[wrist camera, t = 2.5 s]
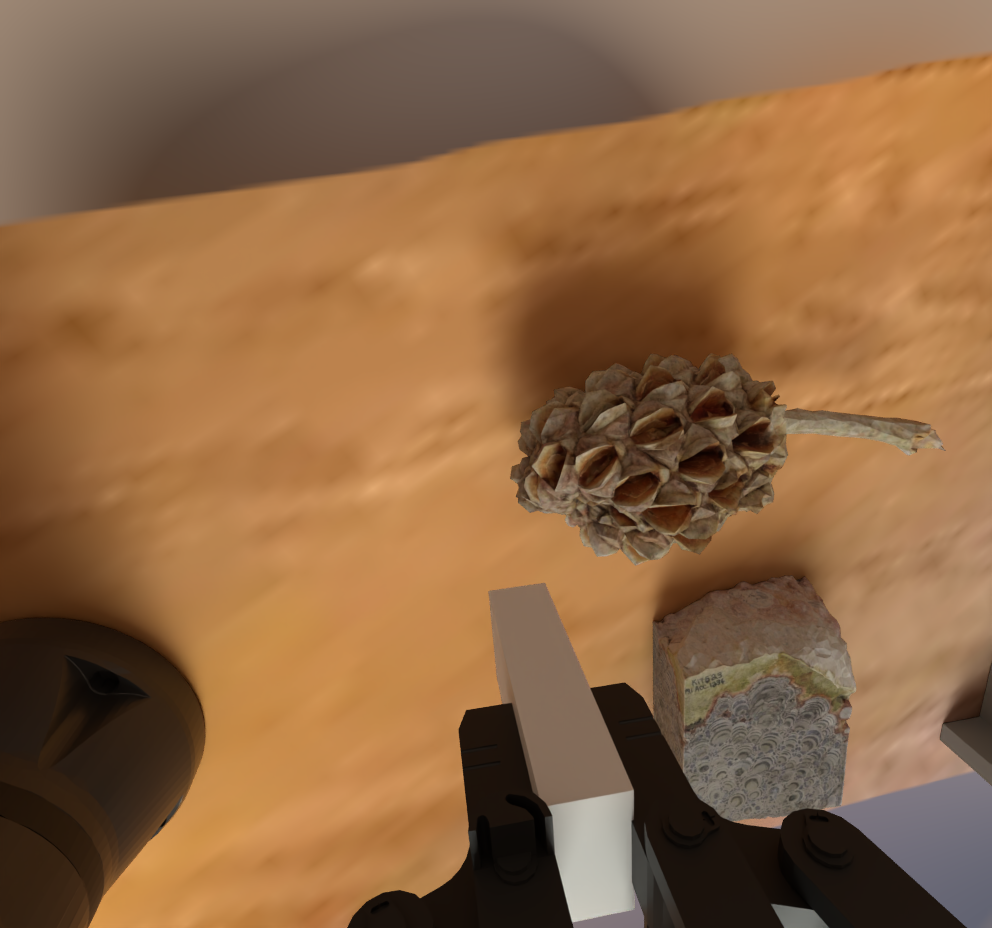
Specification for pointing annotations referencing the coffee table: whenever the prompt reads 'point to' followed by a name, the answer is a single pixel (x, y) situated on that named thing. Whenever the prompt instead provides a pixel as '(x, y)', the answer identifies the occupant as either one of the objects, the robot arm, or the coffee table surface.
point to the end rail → (973, 737)
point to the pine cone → (671, 452)
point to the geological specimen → (756, 698)
